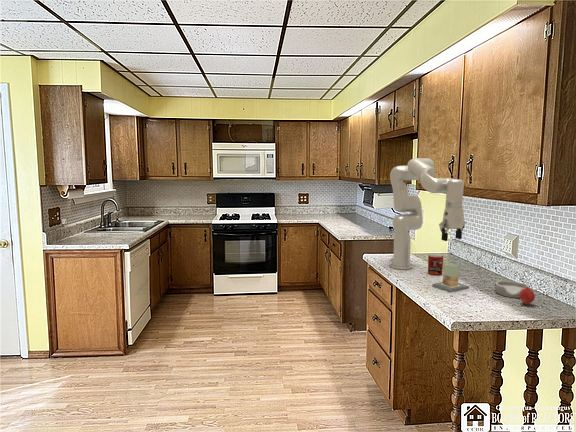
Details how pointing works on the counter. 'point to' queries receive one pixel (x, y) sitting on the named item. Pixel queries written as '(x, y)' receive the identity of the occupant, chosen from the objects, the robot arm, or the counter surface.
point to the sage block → (451, 270)
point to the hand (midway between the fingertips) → (451, 239)
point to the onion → (527, 295)
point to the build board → (450, 289)
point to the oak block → (450, 280)
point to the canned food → (435, 264)
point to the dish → (509, 288)
